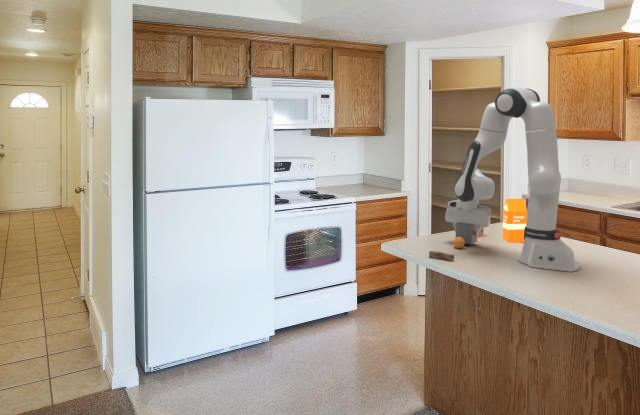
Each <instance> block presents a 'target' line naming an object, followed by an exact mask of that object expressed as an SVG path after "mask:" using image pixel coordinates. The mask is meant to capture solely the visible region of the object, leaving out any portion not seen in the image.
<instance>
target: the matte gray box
mask: <svg viewBox="0 0 640 415" xmlns="http://www.w3.org/2000/svg"><path fill="white" fill-rule="evenodd" d="M477 229H478V228H477V226H475V225H473V224H465V223H456V233H455V238H456V237H462V238H463V239H464V241H465V244H466V245H473V244H475V243H477V242H478V237H477V236H476V235H474V231H477ZM465 244H464V245H465Z"/></svg>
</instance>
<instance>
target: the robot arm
mask: <svg viewBox="0 0 640 415" xmlns="http://www.w3.org/2000/svg"><path fill="white" fill-rule="evenodd" d="M552 108H553V107H552V105H551V104H550V103H548V102H545V101H541V98H540V96H539V94H538V92H537V91H536V90H534V89H531V88H522V87H513V88H512V87H511V88H506V89H504V90H501V91H500V92H499V93H498V94H497V96H496V97H495V100H494V102H491V103H488V105H486V107H485V109H484V111H483V115H482V118H481V121H480V127H479V130H478V133H477V136H476V138H475V139H474V140H473V141H472V142H471V144H470V145H469V147H468V150H467V152H466V155H465V158H464V160H463V165H462V167H461V170H460V173H459V176H458V178H457V180H456V181H455V184H454V186H453V187H454V189H453V191H454V195H455V196H456V198H457V199H454V200H451V201H448V202H447V206H448V207H447V208H446V210H445V214H444V215H445V216H444V219H445V222H447V223H452V226H453V227H454V233H455V234H456V223H465V224H473V225H475V226H477V228H478V229H477V231H474V235H476V236H477V235H478V232H479V230H480V229H481V226H483V227H484V228H487V227H489V226H490V225H491V214H492V209H491V207H489V206H488V205H482V204H479V203H480V202H479V201H481V200H483V201H484V200H490V199H492V198H494V196H495V195H496V192H497V186H496V182H495V181H494V179H492V178H490V177H488V176H486V175H484V174H483V173H482V171H481V170H480V169H479V168H478V165H479V162H480V161H481V159H483V157H486V155H489V154H490V153H493V152H495V151H497V150H499V149H500V148H502V146H503V145H504V144H505V143H506V139H507V135H508V129H509V125H510V124H509V123H510V122H511V120H512V118H516V119H518V118H521V119H522V120H523V123H524V131H525V142H526V150H527V151H526V153H527V155H526V156H527V157H526V158H527V159H526V162H527V178H528V179H527V180H528V186H529V194H528V204H527V207H526V210H527V219H526V226H525V229H524V242H523V244H522V249H521V252H520V255H519V258H518V261H519V262H520V263H522V264H525V265H527V266H528V267H529V268H535V269H536V268H537V269H545V270H554V271H562V272H569V273H570V272H572V273H573V272H577V271H578V270H580V269H581V268H580V267H581V264H580V263H579V262H578V261H575V253H574V251H573V249H572V248H571V247H570V246H568V244H566V243H565V242H564V241H563V240H561V236H562V231H561V230H560V231H559V230H558V229H557V228H556V227H557V218H558V209H559V200H560V191H561V184H562V183H561V182H562V181H561V180H562V177H561V173H560V168H559V148H558V146H559V145H558V138H557V137H558V135H557V127H556V118H555V114H554V110H553V109H552Z"/></svg>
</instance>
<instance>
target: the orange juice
mask: <svg viewBox="0 0 640 415" xmlns="http://www.w3.org/2000/svg"><path fill="white" fill-rule="evenodd" d="M503 205H504V206H503V207H502V208H503V209H502V239H503V240H504V241H505V242H507V243H524V229H525V226H526V219H527V206H526V201H525V198H505V201H504V204H503Z"/></svg>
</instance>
